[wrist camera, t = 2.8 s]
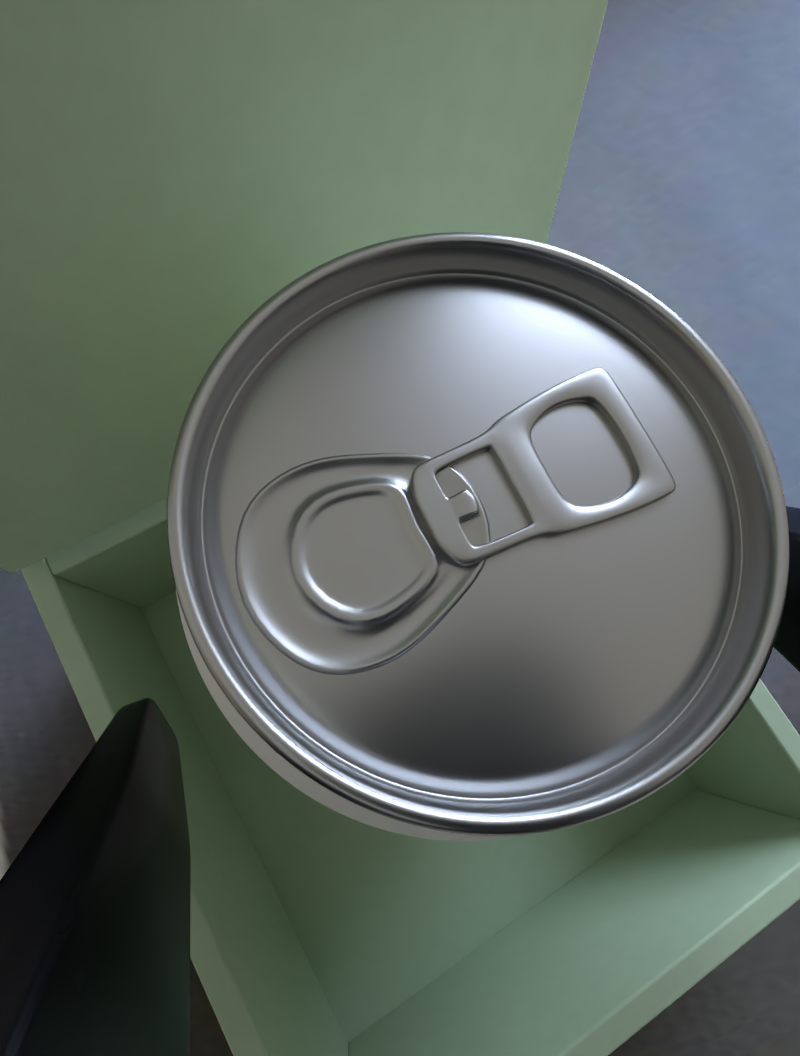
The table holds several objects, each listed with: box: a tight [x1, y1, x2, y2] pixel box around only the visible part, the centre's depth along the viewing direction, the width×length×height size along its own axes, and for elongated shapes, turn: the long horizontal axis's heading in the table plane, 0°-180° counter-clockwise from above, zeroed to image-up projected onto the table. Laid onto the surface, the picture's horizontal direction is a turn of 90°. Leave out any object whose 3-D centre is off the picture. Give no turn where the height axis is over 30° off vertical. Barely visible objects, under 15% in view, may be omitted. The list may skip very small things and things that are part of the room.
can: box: [167, 232, 789, 841], centre depth 11 cm, size 6×6×12 cm
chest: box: [21, 499, 800, 1056], centre depth 14 cm, size 13×12×6 cm
